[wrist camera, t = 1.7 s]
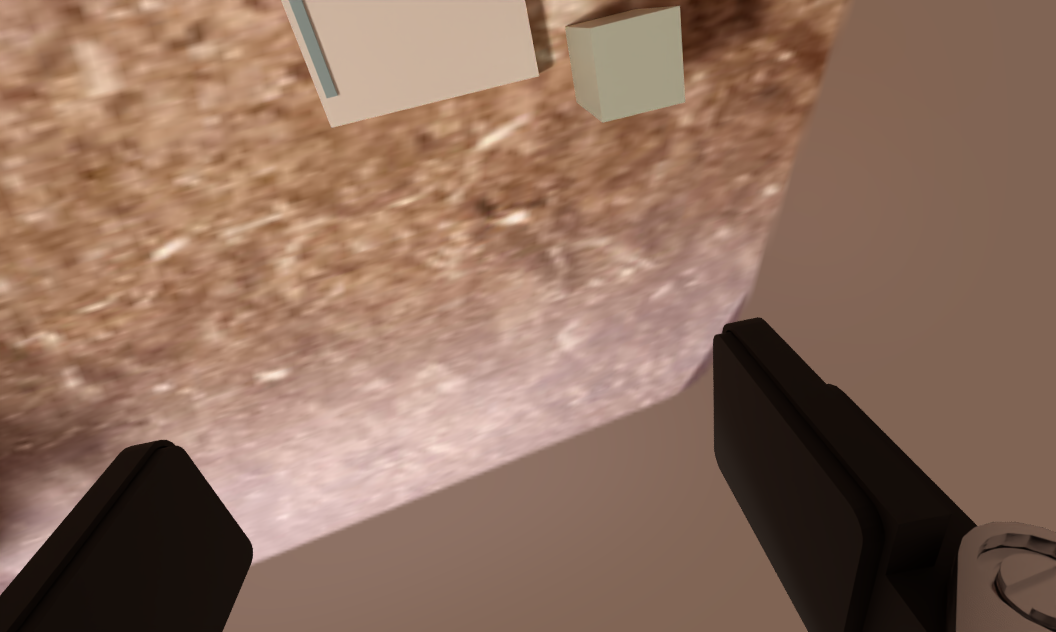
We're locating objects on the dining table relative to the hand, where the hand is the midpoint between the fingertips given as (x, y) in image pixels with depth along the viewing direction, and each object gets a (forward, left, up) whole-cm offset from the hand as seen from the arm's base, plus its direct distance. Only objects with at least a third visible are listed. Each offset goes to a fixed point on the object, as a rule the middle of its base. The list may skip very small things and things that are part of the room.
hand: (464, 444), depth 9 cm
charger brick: (-3, +9, -26) cm, 27 cm away
